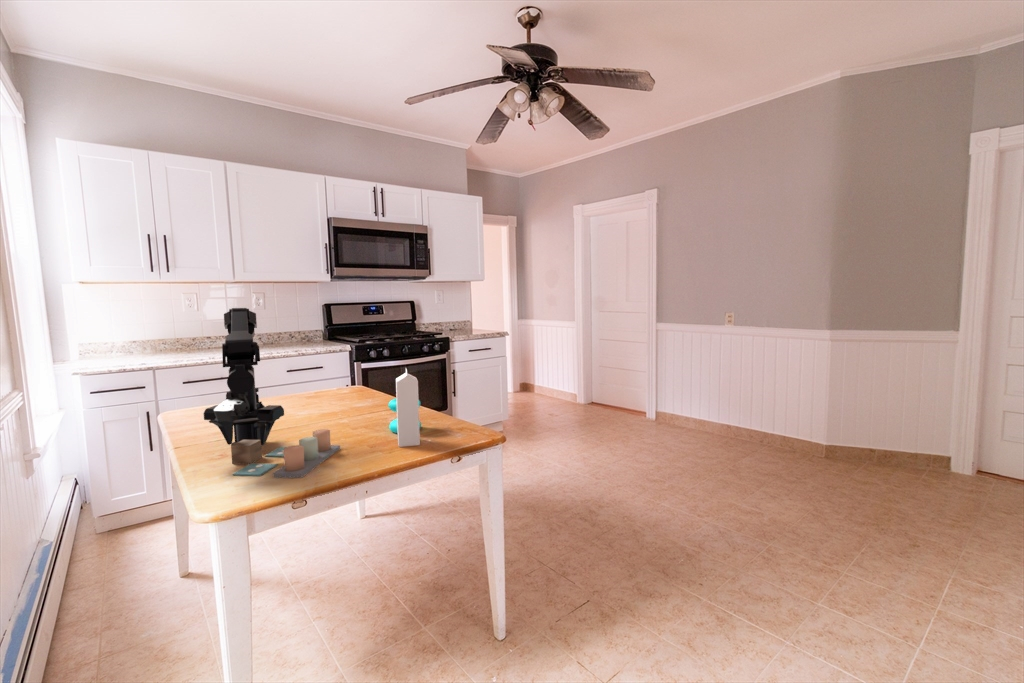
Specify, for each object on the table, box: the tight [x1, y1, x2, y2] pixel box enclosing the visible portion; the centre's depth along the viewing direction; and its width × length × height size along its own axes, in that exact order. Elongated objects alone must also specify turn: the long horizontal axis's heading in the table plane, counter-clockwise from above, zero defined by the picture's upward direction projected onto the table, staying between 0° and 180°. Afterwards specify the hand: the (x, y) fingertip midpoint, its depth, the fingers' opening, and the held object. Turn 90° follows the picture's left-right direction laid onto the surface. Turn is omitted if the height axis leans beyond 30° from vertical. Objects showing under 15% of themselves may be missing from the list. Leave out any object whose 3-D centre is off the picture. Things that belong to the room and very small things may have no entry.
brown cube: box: [230, 440, 263, 465], centre depth 123 cm, size 5×5×5 cm
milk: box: [395, 368, 421, 448], centre depth 135 cm, size 6×6×22 cm
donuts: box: [388, 398, 422, 434], centre depth 149 cm, size 10×10×10 cm
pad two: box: [232, 462, 278, 477], centre depth 116 cm, size 7×7×1 cm
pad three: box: [265, 446, 287, 458], centre depth 129 cm, size 7×7×1 cm
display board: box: [272, 428, 341, 479], centre depth 121 cm, size 7×21×6 cm, turn 176°
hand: (246, 444), depth 123 cm, fingers open, 9 cm apart
